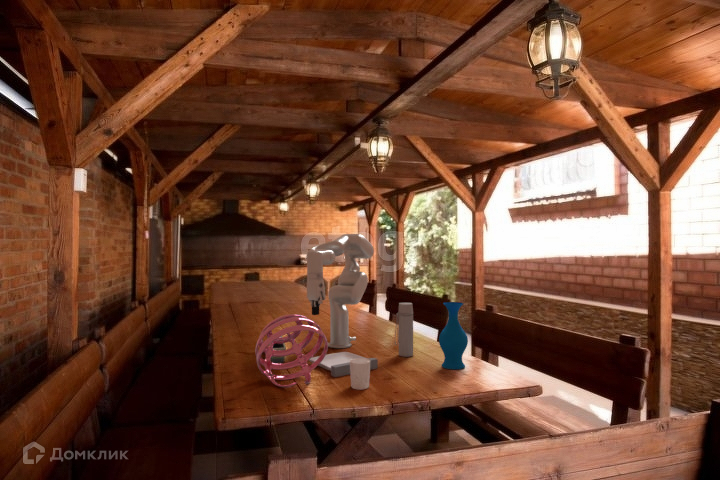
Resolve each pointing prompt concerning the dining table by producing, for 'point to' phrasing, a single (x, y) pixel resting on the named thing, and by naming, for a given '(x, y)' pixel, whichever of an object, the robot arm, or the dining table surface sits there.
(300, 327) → the spiral basket
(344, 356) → the salad plate
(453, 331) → the vase
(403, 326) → the water bottle
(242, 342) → the dining table surface
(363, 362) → the white cup
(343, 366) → the rail
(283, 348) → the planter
